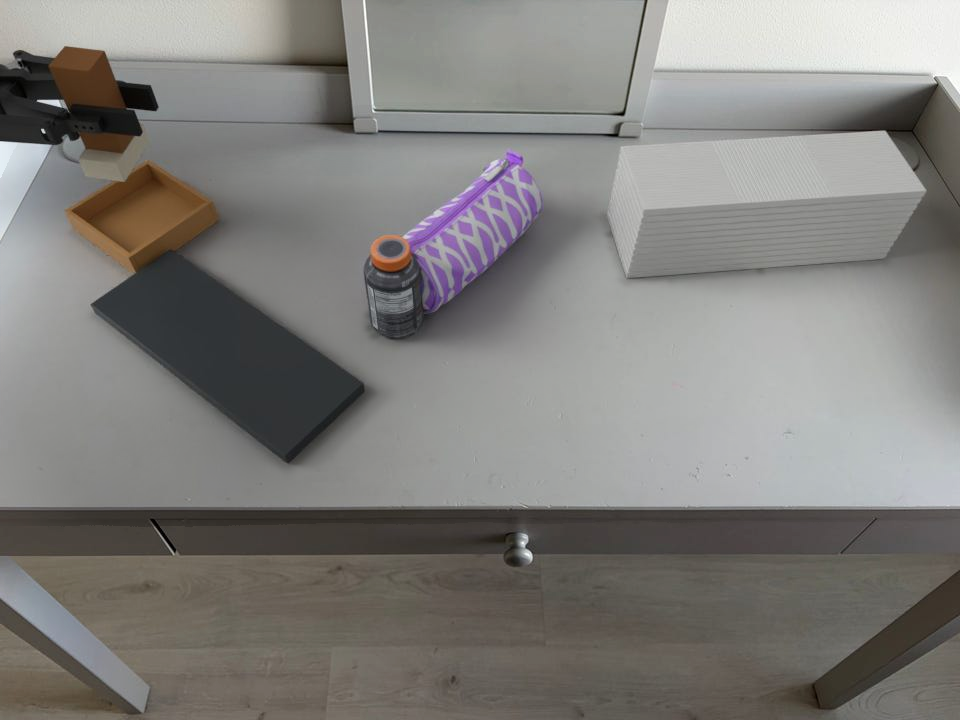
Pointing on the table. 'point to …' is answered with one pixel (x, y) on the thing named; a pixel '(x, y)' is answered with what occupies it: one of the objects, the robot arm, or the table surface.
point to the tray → (142, 216)
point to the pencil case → (474, 229)
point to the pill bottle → (393, 288)
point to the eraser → (94, 84)
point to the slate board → (230, 353)
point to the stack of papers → (759, 202)
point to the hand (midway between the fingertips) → (145, 110)
